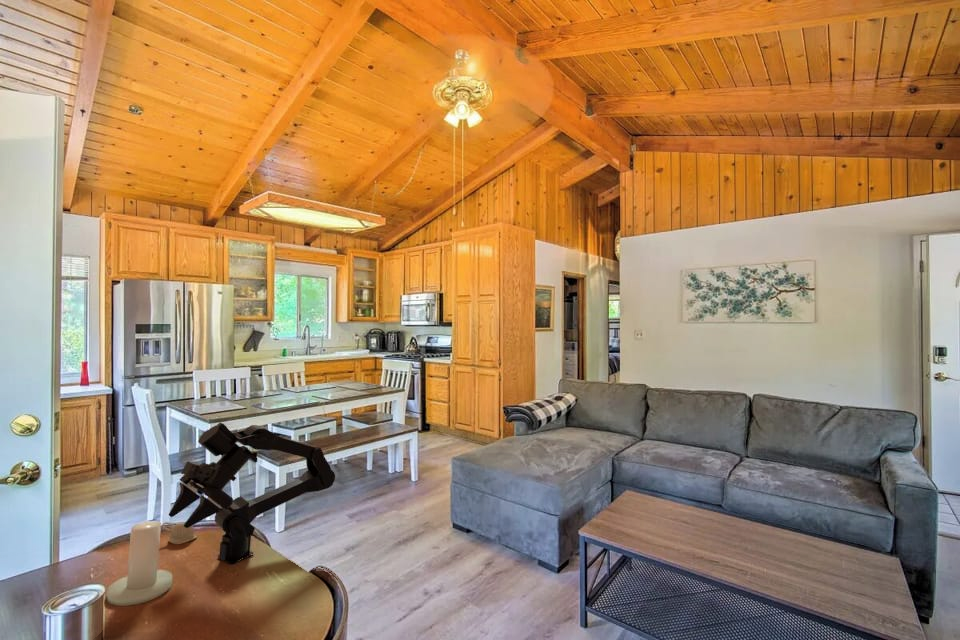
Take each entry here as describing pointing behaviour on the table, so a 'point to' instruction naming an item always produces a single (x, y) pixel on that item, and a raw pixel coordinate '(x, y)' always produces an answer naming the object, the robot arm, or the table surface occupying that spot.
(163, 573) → the sage dish
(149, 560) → the tall beige pillar
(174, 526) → the decorative ornament
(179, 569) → the table surface
